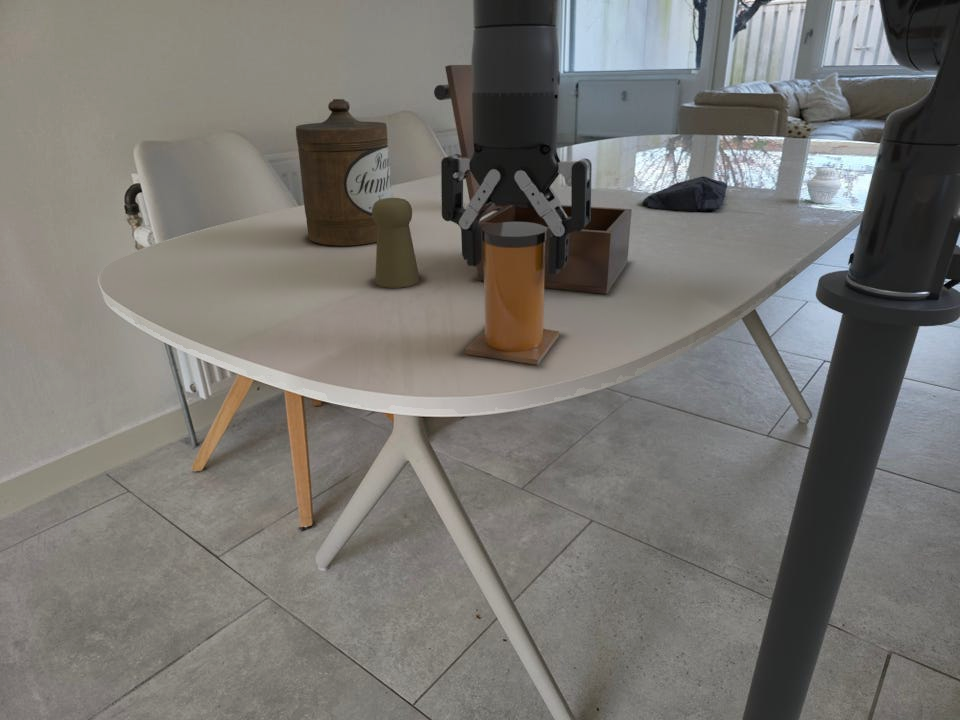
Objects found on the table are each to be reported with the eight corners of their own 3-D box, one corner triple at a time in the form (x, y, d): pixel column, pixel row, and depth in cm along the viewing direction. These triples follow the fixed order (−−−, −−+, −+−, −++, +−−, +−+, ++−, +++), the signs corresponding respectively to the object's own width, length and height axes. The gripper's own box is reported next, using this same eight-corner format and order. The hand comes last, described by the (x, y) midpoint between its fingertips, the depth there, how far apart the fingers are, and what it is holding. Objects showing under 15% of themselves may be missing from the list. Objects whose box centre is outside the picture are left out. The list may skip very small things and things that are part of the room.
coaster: (559, 336, 66) (559, 331, 66) (537, 365, 60) (537, 359, 59) (492, 327, 69) (492, 322, 68) (465, 354, 62) (465, 348, 62)
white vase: (819, 198, 130) (826, 163, 127) (844, 203, 125) (852, 167, 122) (796, 200, 128) (803, 165, 125) (820, 206, 123) (828, 169, 120)
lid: (494, 64, 86) (462, 72, 88) (450, 64, 74) (414, 73, 76) (515, 198, 92) (485, 202, 94) (478, 219, 80) (444, 223, 82)
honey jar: (551, 332, 65) (555, 223, 61) (533, 355, 60) (535, 239, 55) (496, 325, 68) (495, 219, 63) (474, 346, 62) (472, 233, 58)
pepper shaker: (416, 272, 88) (411, 193, 83) (422, 285, 82) (417, 201, 78) (373, 276, 86) (366, 196, 82) (376, 289, 81) (368, 204, 76)
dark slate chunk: (737, 194, 135) (740, 172, 133) (717, 214, 118) (720, 188, 116) (666, 189, 142) (669, 168, 140) (638, 207, 125) (640, 183, 123)
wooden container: (379, 247, 100) (366, 100, 91) (294, 245, 103) (272, 101, 93) (405, 226, 113) (396, 96, 104) (329, 224, 116) (314, 97, 106)
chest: (627, 263, 90) (631, 208, 87) (606, 294, 78) (611, 232, 74) (512, 252, 96) (513, 201, 93) (477, 280, 84) (475, 223, 81)
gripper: (421, 89, 53) (431, 272, 60) (585, 88, 48) (575, 287, 55) (457, 86, 59) (462, 252, 66) (605, 85, 54) (594, 264, 61)
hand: (514, 268), depth 61 cm, fingers open, 8 cm apart
